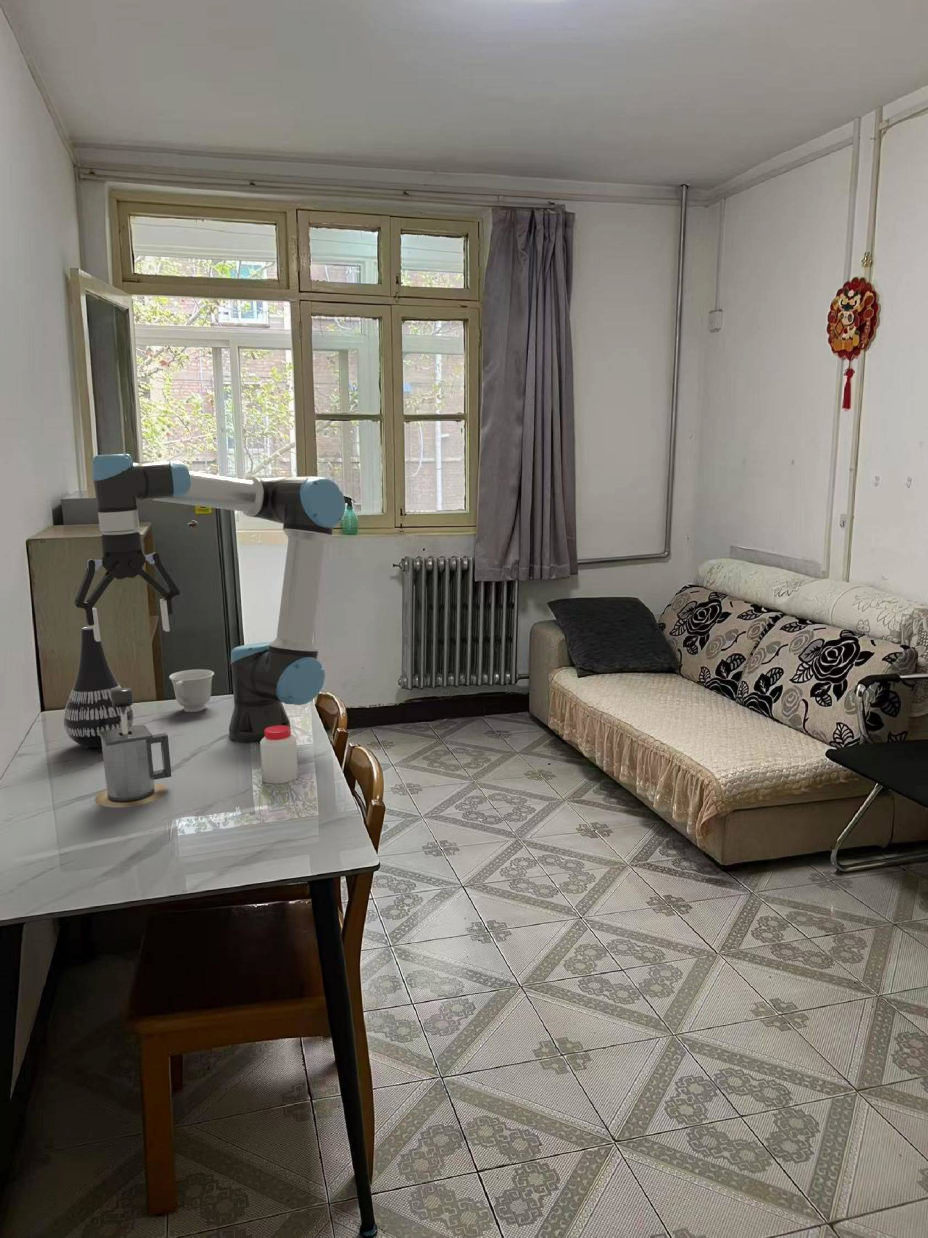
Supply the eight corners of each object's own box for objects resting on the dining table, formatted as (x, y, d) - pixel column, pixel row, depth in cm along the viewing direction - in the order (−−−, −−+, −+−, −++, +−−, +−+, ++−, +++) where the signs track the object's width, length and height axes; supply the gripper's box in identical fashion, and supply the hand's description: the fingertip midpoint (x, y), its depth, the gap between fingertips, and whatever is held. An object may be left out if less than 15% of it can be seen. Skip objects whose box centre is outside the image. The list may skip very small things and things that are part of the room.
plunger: (144, 773, 195) (136, 684, 192) (151, 783, 189) (143, 691, 185) (108, 779, 192) (99, 689, 188) (114, 790, 185) (105, 697, 182)
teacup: (158, 718, 249) (155, 682, 247) (184, 703, 263) (181, 668, 261) (200, 719, 247) (197, 682, 245) (223, 703, 261) (221, 669, 259)
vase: (136, 732, 236) (125, 619, 231) (135, 751, 221) (123, 630, 216) (69, 740, 231) (57, 624, 226) (63, 759, 217) (50, 636, 211)
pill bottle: (305, 774, 203) (302, 725, 201) (284, 785, 196) (281, 736, 194) (276, 769, 206) (273, 722, 204) (255, 781, 199) (251, 732, 197)
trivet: (159, 781, 200) (159, 777, 200) (173, 801, 188) (173, 798, 188) (90, 794, 194) (90, 790, 193) (101, 816, 182) (100, 812, 181)
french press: (166, 780, 199) (161, 721, 196) (176, 793, 191) (170, 732, 188) (104, 792, 192) (98, 731, 190) (111, 806, 185) (105, 743, 182)
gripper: (178, 525, 194) (189, 623, 199) (50, 536, 182) (64, 641, 186) (187, 527, 188) (198, 629, 192) (55, 539, 176) (70, 648, 180)
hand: (132, 635), depth 189 cm, fingers open, 13 cm apart
